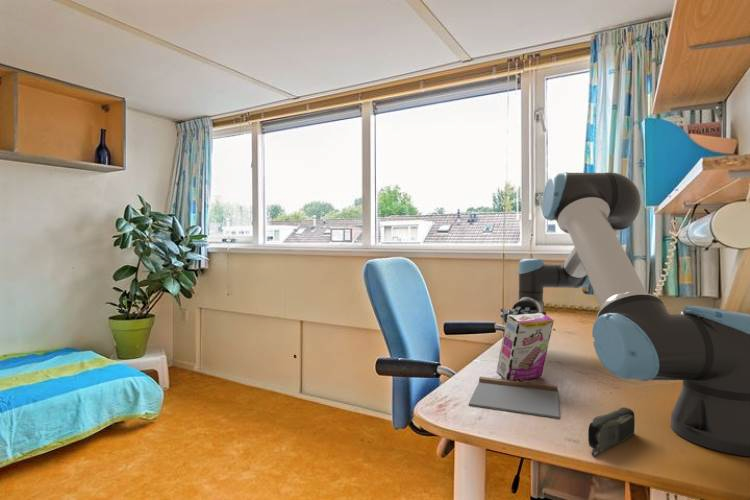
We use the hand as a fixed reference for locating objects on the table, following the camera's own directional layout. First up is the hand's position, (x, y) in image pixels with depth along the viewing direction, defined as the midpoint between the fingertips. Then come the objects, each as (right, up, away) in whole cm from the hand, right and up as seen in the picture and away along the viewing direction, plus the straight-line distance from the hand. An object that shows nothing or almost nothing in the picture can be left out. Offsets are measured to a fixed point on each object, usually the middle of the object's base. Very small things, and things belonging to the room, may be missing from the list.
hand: (513, 324), depth 109 cm
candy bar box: (+2, -14, +1) cm, 14 cm away
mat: (-4, -14, -14) cm, 21 cm away
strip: (-1, -14, -6) cm, 15 cm away
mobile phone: (+6, -15, -34) cm, 38 cm away
